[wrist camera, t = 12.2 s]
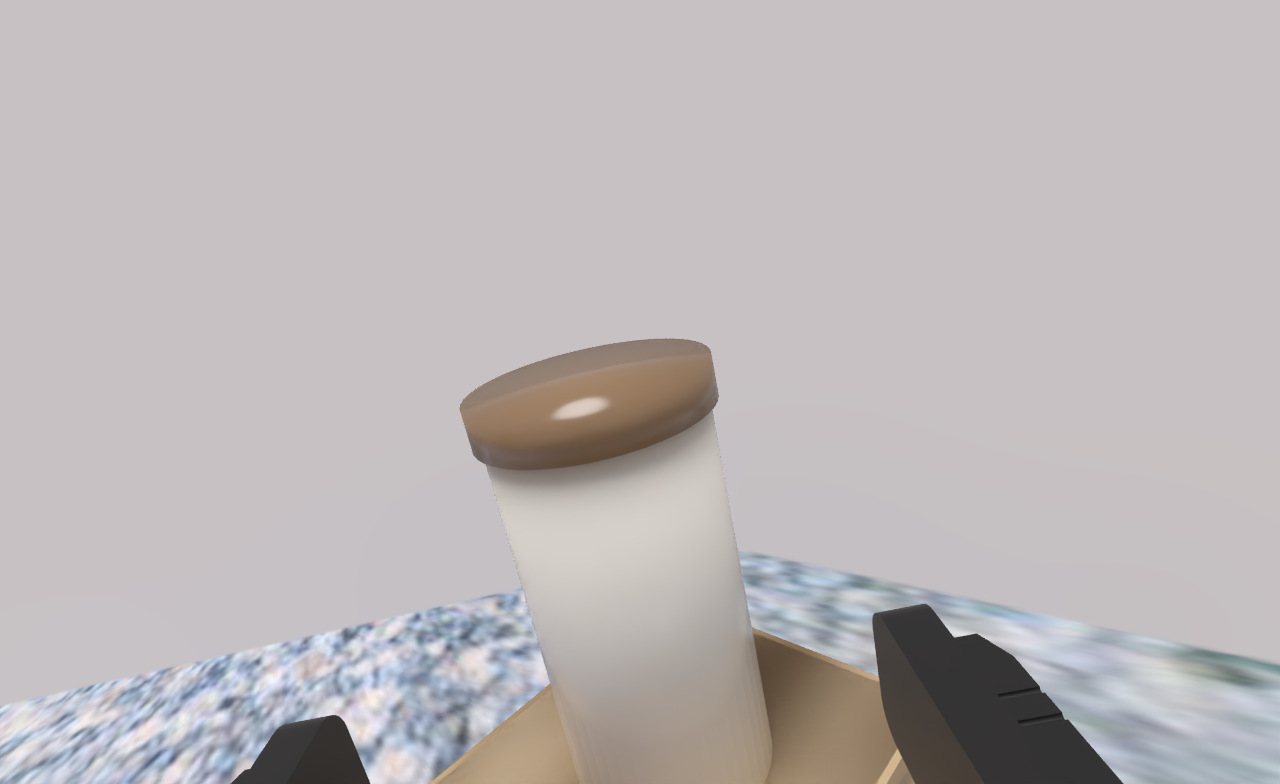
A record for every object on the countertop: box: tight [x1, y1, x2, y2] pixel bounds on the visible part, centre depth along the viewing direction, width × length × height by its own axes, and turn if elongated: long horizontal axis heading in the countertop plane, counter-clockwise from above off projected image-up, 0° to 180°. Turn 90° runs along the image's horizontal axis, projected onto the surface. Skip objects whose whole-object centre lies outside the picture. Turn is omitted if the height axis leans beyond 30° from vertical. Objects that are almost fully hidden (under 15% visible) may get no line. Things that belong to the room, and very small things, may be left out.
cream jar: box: [460, 339, 773, 784], centre depth 16 cm, size 6×6×11 cm
